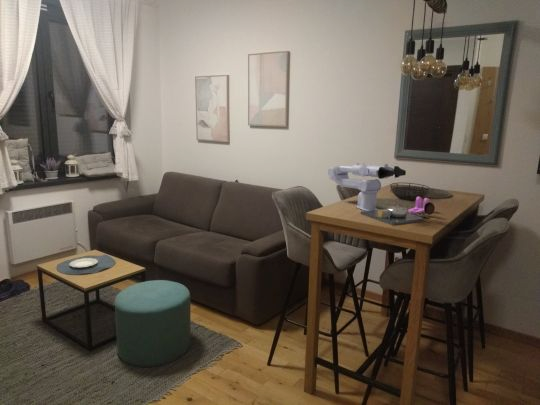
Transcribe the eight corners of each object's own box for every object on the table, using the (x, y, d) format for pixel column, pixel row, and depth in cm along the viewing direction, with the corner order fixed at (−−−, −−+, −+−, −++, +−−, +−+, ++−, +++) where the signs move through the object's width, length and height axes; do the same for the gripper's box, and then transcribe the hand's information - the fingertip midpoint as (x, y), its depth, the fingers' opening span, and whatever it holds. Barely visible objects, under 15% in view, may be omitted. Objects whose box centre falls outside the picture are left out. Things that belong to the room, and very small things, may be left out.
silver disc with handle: (396, 212, 202) (397, 204, 201) (410, 216, 194) (411, 208, 193) (373, 214, 195) (373, 207, 194) (386, 219, 188) (386, 211, 187)
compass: (412, 216, 201) (414, 201, 200) (425, 214, 205) (426, 200, 203) (424, 220, 194) (426, 205, 193) (437, 218, 197) (439, 204, 196)
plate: (360, 213, 203) (360, 211, 203) (391, 210, 212) (391, 207, 211) (392, 225, 183) (393, 222, 183) (425, 220, 192) (425, 218, 192)
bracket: (417, 209, 217) (419, 196, 216) (428, 211, 213) (429, 197, 212) (406, 212, 208) (407, 199, 207) (416, 214, 204) (417, 201, 203)
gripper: (367, 164, 199) (387, 165, 187) (390, 163, 206) (410, 164, 194) (367, 178, 200) (386, 180, 188) (389, 177, 207) (410, 178, 195)
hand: (399, 173), depth 191 cm, fingers open, 7 cm apart
